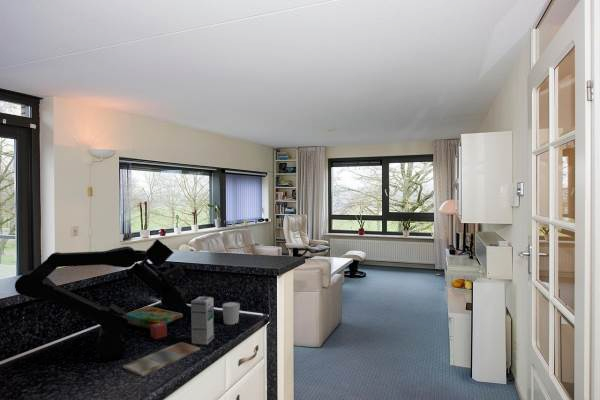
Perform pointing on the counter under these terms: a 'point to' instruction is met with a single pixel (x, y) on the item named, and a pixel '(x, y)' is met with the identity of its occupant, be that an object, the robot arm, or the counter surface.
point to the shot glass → (231, 312)
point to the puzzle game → (151, 316)
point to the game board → (160, 358)
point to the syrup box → (202, 320)
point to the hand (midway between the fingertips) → (186, 305)
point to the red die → (158, 330)
